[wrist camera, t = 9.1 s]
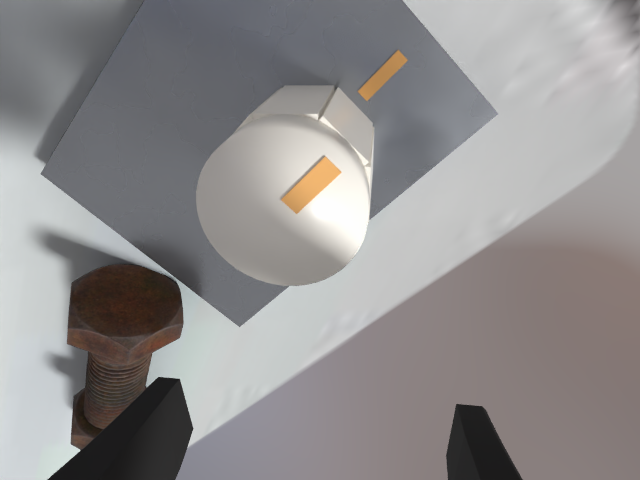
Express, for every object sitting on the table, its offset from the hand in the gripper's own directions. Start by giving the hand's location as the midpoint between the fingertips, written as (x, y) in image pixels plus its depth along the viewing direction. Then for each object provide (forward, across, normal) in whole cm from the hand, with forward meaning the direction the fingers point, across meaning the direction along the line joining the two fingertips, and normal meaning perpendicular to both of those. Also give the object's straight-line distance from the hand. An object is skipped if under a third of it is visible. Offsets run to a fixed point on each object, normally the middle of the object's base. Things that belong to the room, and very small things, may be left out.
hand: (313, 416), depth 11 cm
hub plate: (+10, +4, -4) cm, 12 cm away
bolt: (+11, +14, +10) cm, 20 cm away
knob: (+9, +1, -4) cm, 10 cm away
